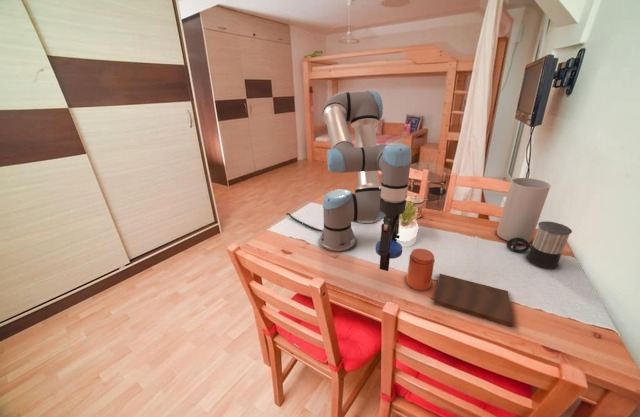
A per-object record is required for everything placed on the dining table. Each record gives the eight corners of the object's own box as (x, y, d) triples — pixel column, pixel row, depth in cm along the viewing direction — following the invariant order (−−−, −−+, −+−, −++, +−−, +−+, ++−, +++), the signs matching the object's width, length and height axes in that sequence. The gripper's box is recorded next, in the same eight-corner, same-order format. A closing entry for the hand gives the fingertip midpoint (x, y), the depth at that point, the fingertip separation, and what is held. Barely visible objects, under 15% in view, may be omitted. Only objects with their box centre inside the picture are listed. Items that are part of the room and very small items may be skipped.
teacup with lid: (417, 220, 131) (420, 199, 126) (400, 216, 137) (402, 195, 132) (426, 212, 139) (429, 192, 134) (409, 208, 145) (412, 188, 140)
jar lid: (395, 261, 80) (396, 256, 79) (371, 253, 84) (371, 248, 83) (405, 249, 86) (406, 244, 85) (382, 242, 90) (382, 237, 89)
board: (434, 303, 81) (434, 299, 80) (438, 276, 92) (439, 273, 92) (511, 327, 72) (513, 323, 72) (506, 294, 83) (507, 290, 83)
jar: (404, 285, 89) (408, 257, 84) (408, 272, 95) (412, 245, 90) (428, 293, 85) (434, 263, 80) (431, 278, 91) (436, 250, 87)
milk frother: (559, 272, 92) (575, 236, 86) (505, 259, 100) (516, 225, 94) (553, 252, 103) (566, 219, 97) (505, 242, 111) (515, 210, 105)
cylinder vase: (520, 247, 107) (539, 190, 96) (490, 234, 117) (504, 181, 106) (537, 239, 112) (557, 184, 101) (506, 227, 122) (522, 176, 112)
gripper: (389, 186, 87) (384, 244, 97) (369, 209, 71) (366, 277, 80) (412, 188, 84) (405, 248, 93) (397, 214, 67) (391, 284, 77)
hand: (387, 261), depth 87 cm, fingers closed on jar lid, 8 cm apart
